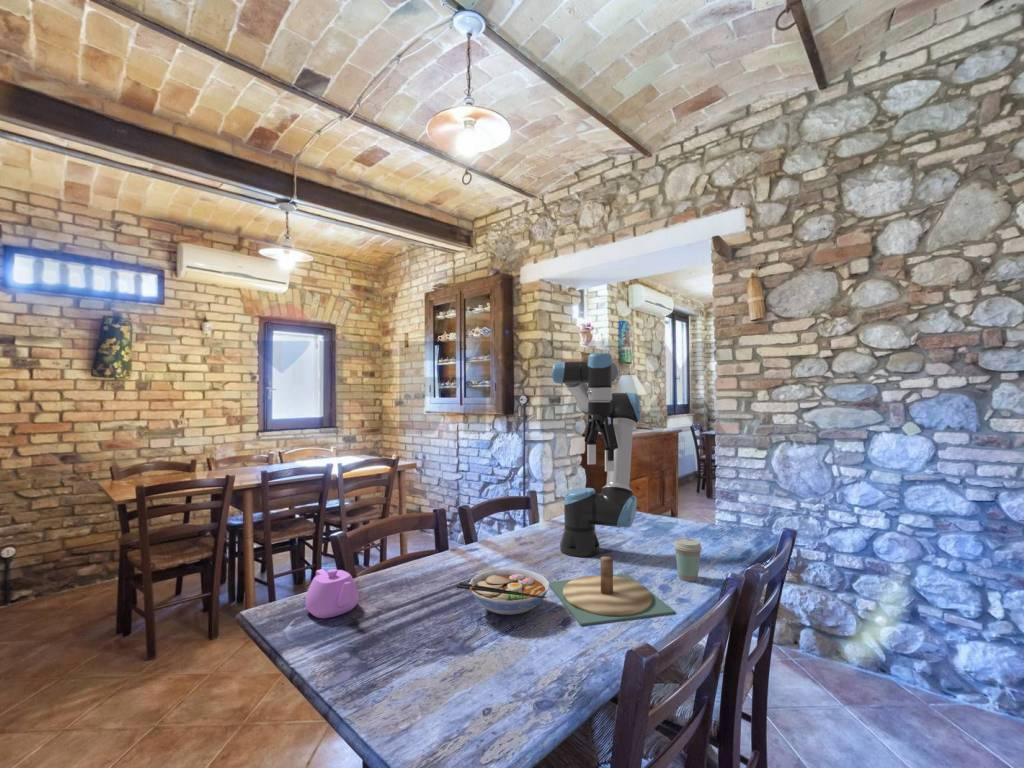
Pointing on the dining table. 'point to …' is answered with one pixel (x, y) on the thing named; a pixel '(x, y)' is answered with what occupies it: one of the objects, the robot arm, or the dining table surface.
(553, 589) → the mat
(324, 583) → the teapot
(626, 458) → the robot arm
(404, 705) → the dining table surface
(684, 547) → the coffee cup
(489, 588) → the ramen bowl
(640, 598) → the lid
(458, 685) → the dining table surface
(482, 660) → the dining table surface
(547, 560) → the dining table surface
